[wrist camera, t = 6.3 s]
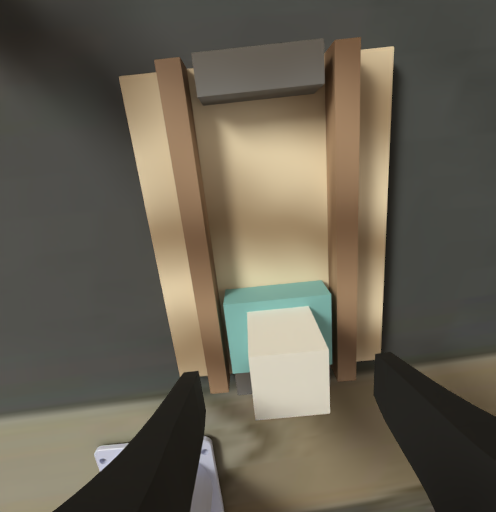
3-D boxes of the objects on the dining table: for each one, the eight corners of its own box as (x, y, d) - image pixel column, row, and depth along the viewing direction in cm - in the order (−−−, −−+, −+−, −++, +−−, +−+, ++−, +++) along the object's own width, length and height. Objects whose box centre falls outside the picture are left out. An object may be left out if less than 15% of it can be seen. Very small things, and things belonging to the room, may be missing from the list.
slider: (323, 344, 17) (357, 420, 12) (233, 352, 17) (229, 432, 12) (321, 280, 16) (358, 335, 11) (225, 289, 16) (217, 348, 11)
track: (373, 349, 18) (395, 380, 16) (183, 367, 19) (173, 401, 16) (383, 54, 14) (418, 27, 11) (127, 82, 14) (99, 63, 11)
